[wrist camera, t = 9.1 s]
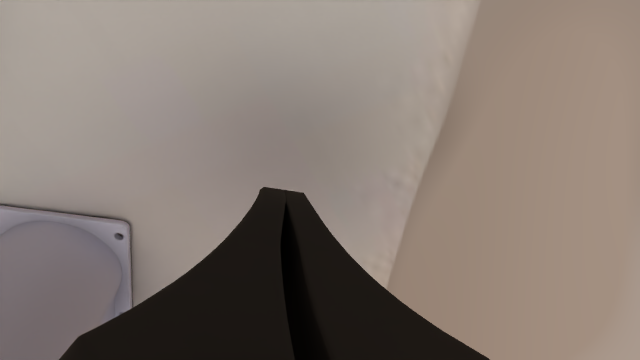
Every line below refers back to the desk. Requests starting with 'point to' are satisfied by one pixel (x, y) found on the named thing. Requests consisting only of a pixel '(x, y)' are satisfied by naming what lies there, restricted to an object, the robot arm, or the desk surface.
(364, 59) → the desk surface
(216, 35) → the desk surface
